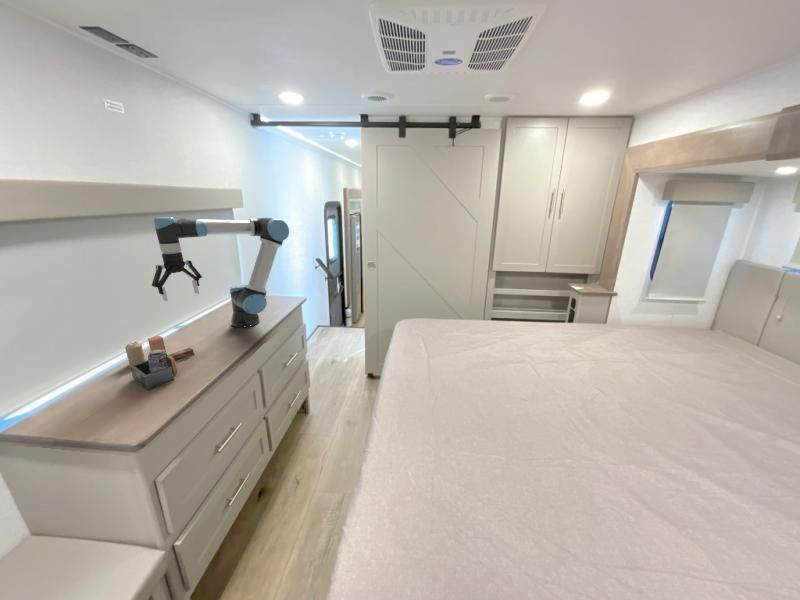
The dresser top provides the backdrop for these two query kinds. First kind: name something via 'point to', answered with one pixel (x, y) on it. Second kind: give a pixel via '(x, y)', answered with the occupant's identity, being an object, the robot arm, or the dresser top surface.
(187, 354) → the rail
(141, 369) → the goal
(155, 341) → the kicker
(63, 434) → the dresser top surface
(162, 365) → the beverage can
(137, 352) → the candle
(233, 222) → the robot arm
